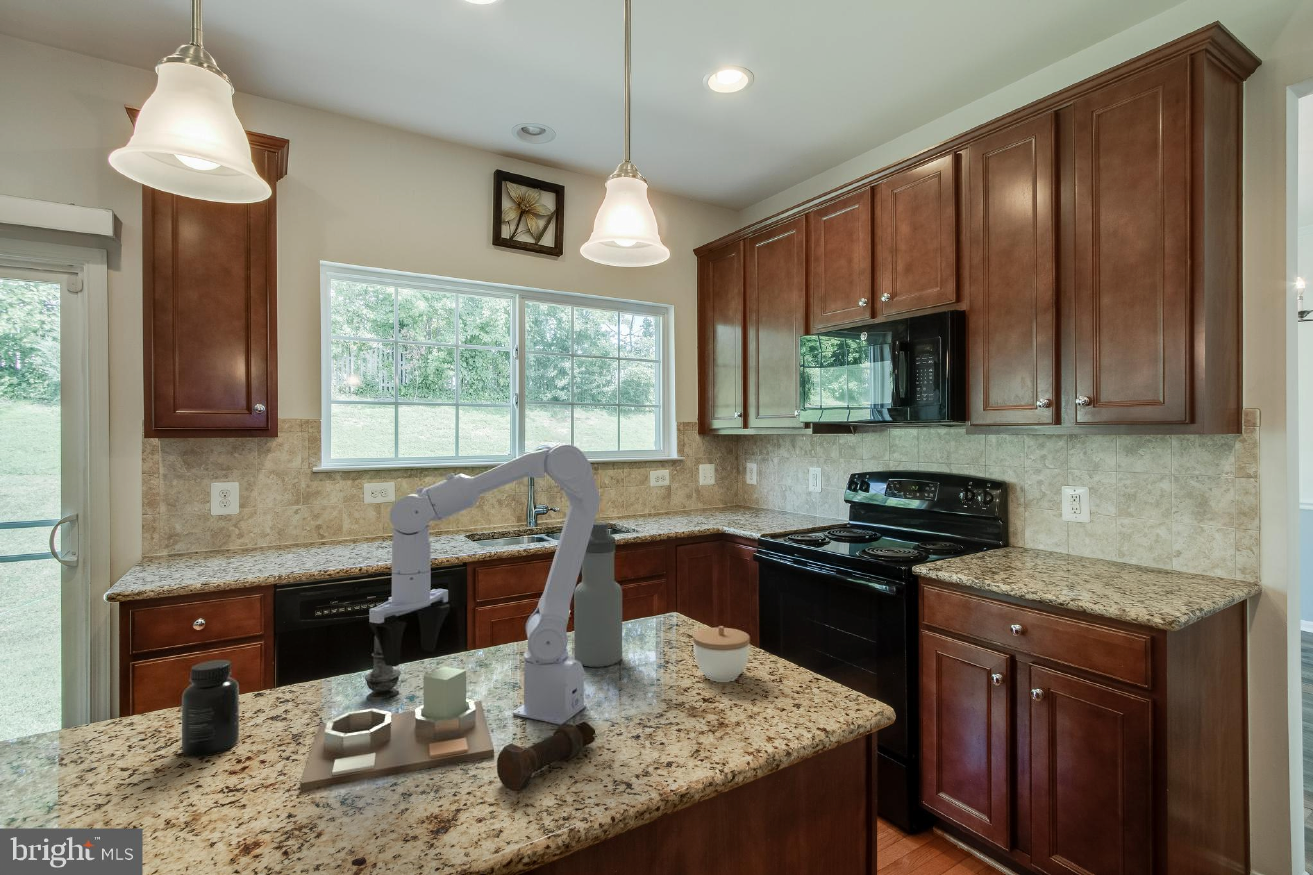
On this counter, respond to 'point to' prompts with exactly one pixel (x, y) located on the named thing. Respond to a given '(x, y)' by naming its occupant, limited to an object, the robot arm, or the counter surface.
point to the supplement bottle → (210, 710)
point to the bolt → (542, 754)
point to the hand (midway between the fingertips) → (410, 657)
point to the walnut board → (395, 752)
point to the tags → (369, 759)
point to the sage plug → (444, 693)
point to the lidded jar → (721, 652)
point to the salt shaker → (381, 677)
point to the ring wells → (389, 728)
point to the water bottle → (598, 604)
